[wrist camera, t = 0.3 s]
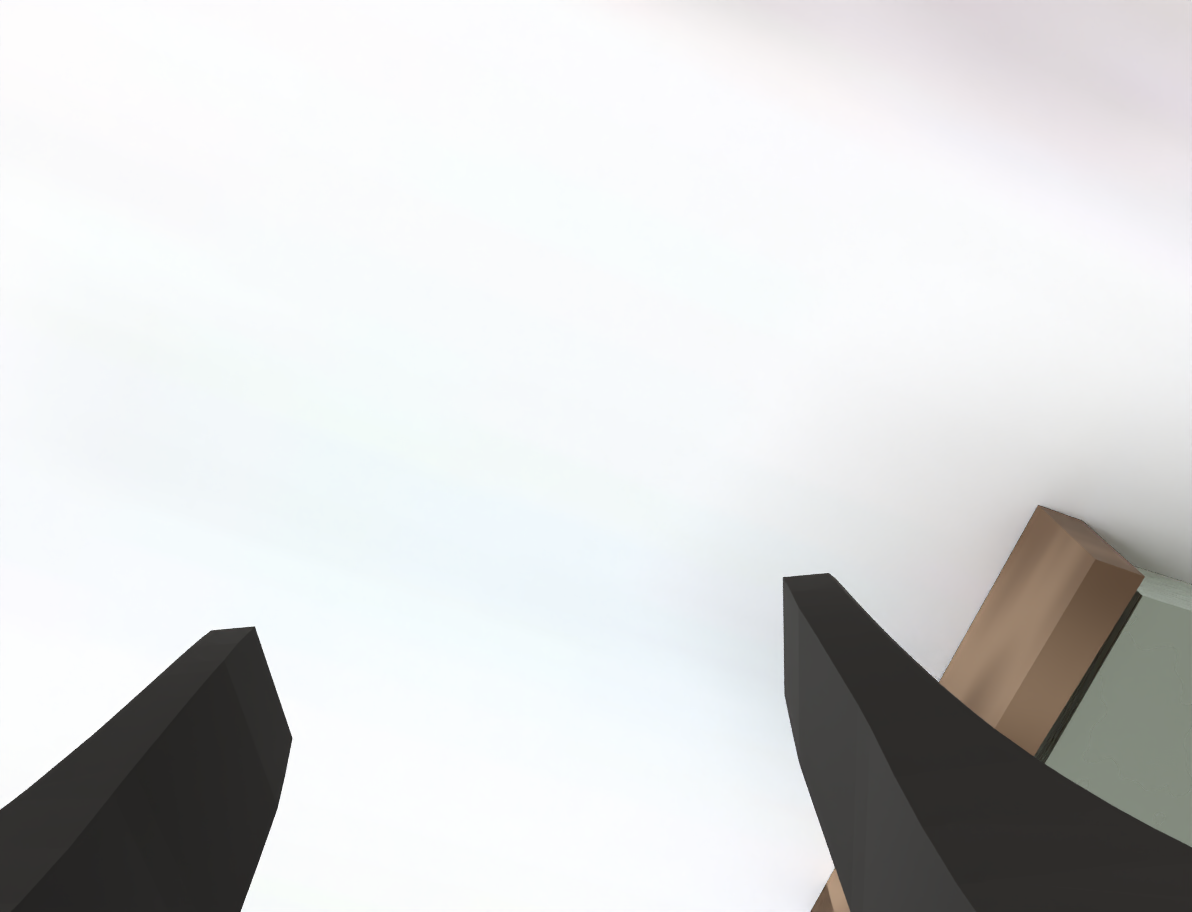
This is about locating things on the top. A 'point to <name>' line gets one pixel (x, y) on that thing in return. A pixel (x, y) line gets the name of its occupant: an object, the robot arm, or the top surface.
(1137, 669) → the cover plate
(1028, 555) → the walnut box
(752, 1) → the top surface
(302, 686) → the top surface
